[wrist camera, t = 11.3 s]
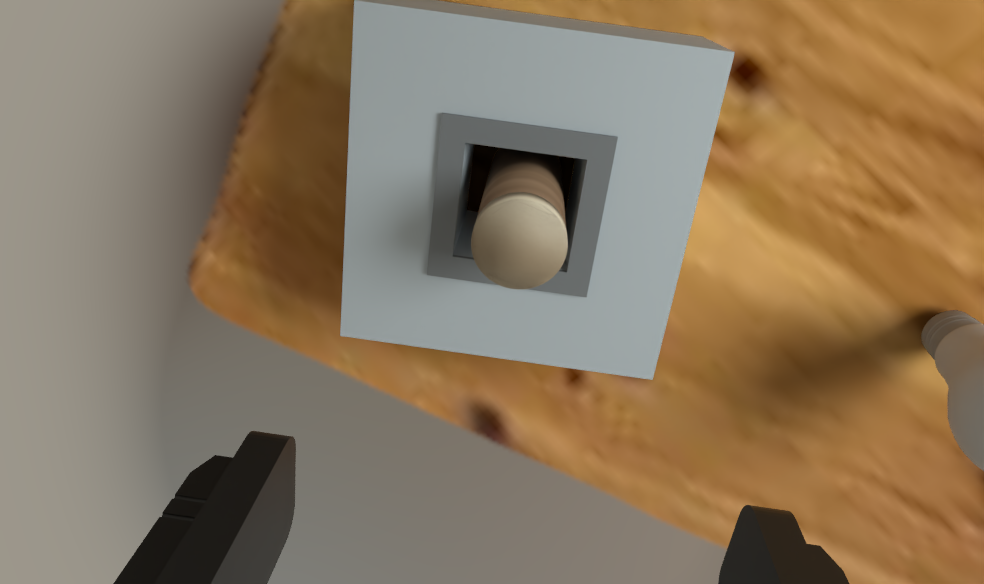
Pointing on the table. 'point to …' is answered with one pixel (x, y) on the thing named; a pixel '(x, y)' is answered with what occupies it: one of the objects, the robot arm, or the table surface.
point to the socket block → (534, 128)
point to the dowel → (521, 220)
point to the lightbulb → (961, 375)
